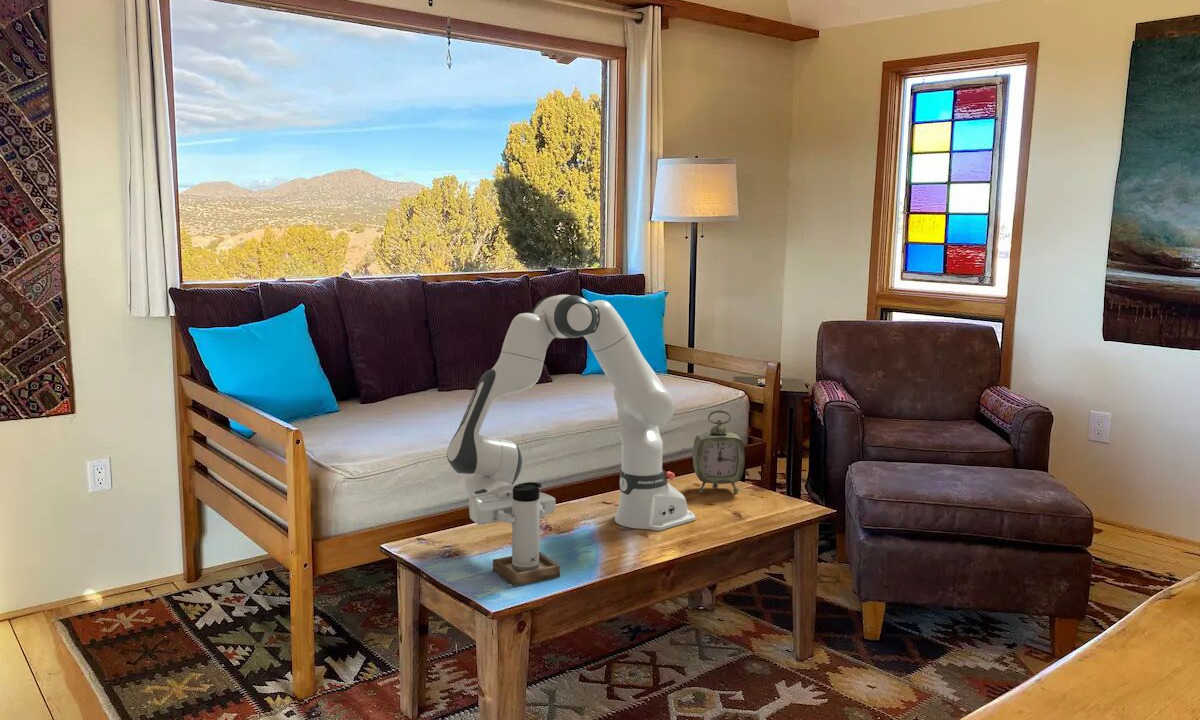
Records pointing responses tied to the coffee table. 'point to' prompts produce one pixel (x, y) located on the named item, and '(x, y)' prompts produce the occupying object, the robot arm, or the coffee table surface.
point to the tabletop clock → (718, 455)
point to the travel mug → (526, 526)
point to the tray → (515, 577)
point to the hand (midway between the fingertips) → (527, 517)
